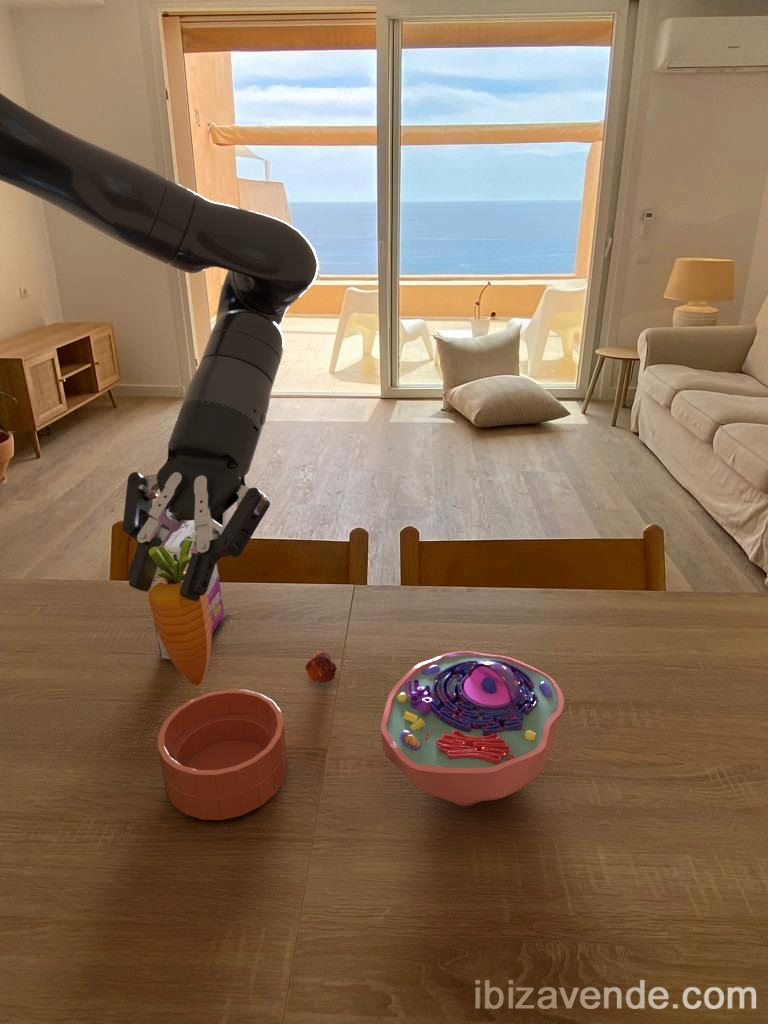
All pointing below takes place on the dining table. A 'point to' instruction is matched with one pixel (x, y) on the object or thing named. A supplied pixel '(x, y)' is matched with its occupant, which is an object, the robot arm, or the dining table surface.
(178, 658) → the carrot
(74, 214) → the robot arm
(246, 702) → the mixing bowl
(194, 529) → the candy bar box
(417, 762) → the cell model
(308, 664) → the meatball
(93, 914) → the dining table surface
